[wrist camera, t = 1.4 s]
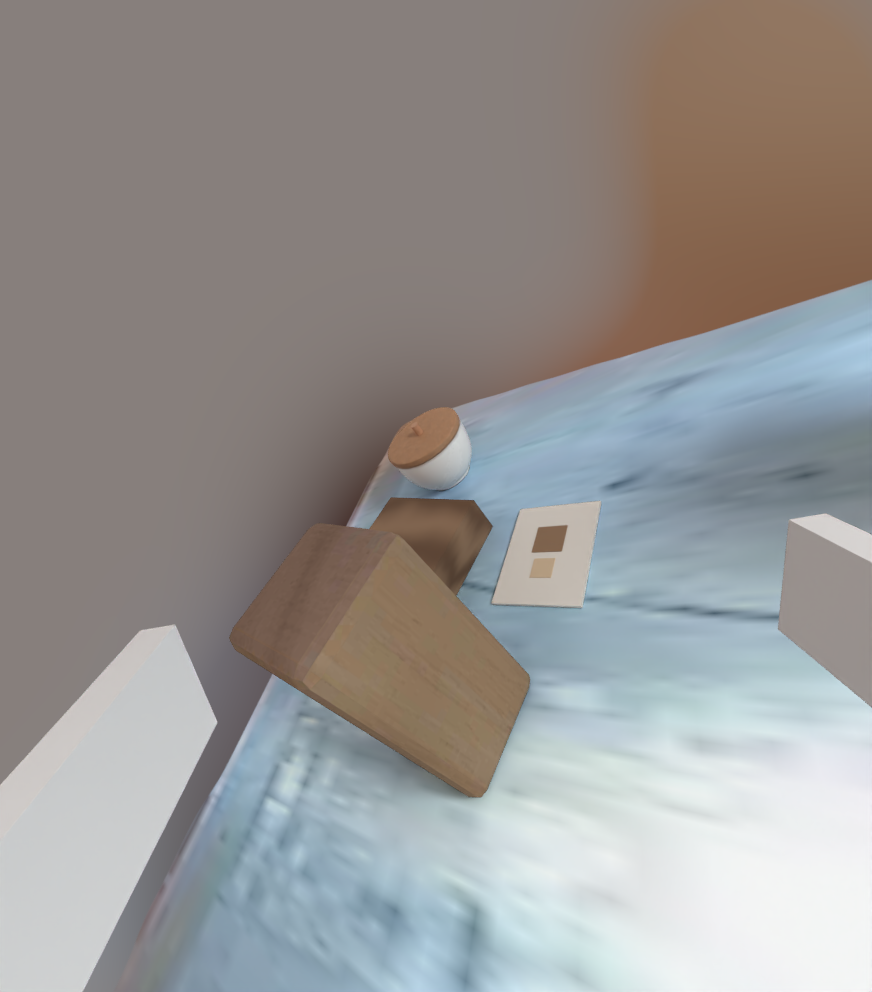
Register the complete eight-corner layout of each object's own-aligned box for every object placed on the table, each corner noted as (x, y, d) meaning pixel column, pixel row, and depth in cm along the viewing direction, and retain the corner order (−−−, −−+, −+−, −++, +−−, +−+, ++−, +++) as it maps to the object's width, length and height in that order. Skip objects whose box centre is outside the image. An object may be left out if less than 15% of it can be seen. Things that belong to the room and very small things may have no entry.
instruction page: (521, 510, 53) (520, 508, 52) (601, 502, 47) (600, 500, 47) (492, 604, 46) (491, 602, 46) (582, 608, 40) (581, 605, 40)
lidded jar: (499, 451, 63) (465, 397, 58) (452, 510, 60) (411, 459, 55) (449, 444, 71) (415, 396, 66) (405, 496, 68) (366, 450, 63)
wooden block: (395, 750, 41) (217, 638, 30) (449, 647, 45) (310, 516, 34) (486, 807, 34) (295, 688, 23) (538, 678, 38) (400, 526, 27)
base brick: (411, 521, 64) (390, 497, 61) (494, 528, 54) (473, 500, 51) (355, 610, 57) (329, 588, 54) (437, 637, 47) (410, 611, 45)
